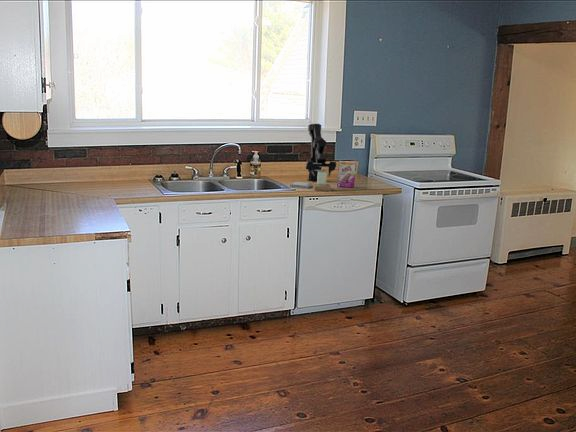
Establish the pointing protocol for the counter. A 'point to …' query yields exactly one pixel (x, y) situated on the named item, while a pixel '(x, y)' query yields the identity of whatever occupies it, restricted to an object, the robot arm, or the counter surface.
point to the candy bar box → (346, 174)
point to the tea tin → (321, 177)
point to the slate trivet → (302, 184)
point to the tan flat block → (321, 187)
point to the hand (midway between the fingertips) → (321, 176)
